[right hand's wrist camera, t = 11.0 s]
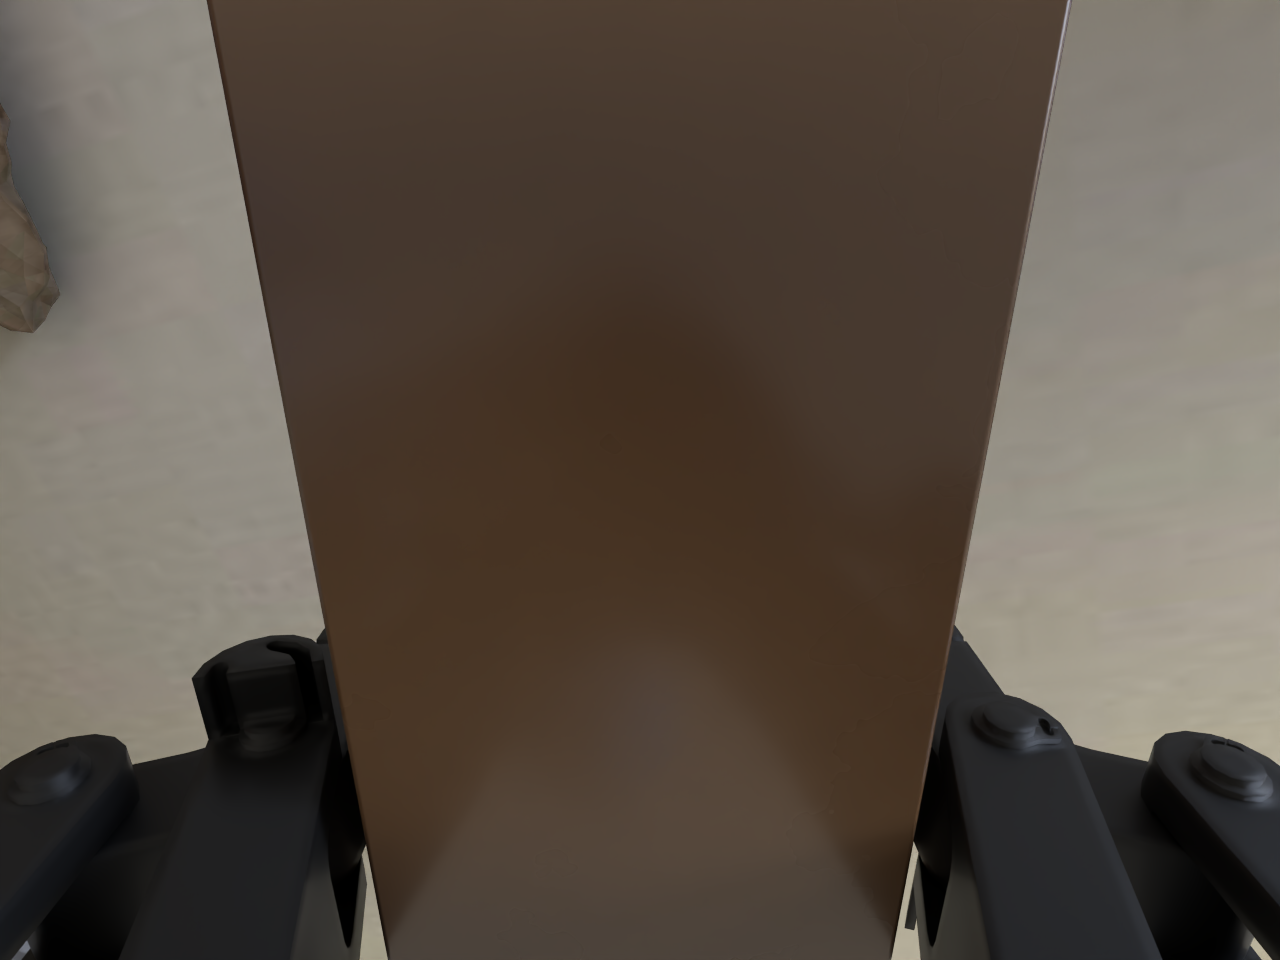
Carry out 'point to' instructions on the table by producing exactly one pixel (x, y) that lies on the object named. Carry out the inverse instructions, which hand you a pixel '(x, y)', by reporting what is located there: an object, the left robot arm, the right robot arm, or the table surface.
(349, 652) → the bar
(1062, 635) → the table surface
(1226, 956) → the right robot arm
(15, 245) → the stone
